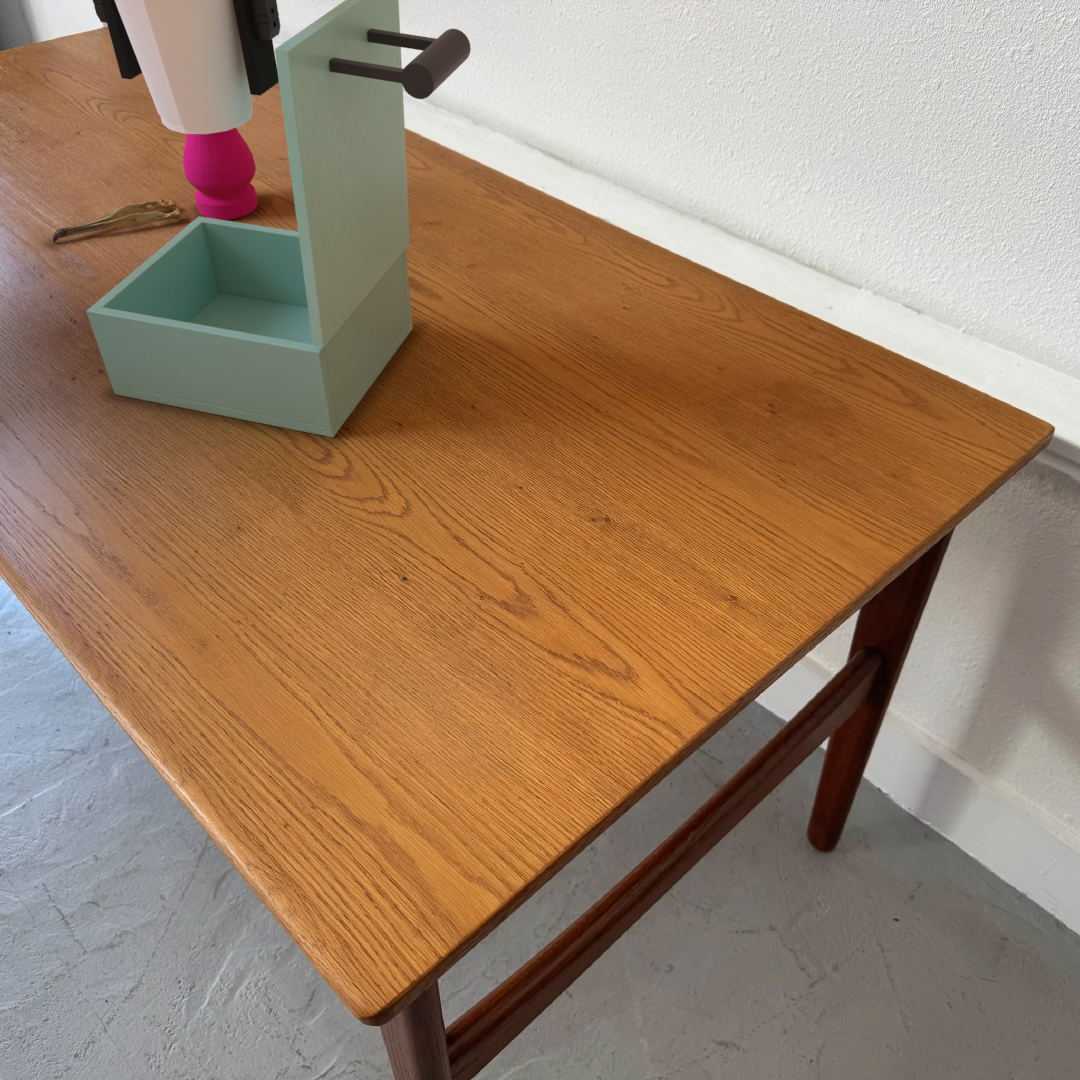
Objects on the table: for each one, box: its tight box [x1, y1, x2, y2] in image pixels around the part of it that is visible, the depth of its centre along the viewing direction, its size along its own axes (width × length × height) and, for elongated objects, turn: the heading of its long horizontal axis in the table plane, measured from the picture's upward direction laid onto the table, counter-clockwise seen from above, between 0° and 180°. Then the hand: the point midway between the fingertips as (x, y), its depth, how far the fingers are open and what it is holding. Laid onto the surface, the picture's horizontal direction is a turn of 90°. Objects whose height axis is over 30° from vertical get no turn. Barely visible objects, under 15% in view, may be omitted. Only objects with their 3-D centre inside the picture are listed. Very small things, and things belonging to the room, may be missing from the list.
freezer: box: [86, 216, 414, 438], centre depth 86 cm, size 20×17×8 cm
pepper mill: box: [182, 127, 259, 221], centre depth 103 cm, size 7×7×20 cm
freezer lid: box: [274, 0, 471, 348], centre depth 73 cm, size 21×17×8 cm
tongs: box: [51, 198, 183, 244], centre depth 106 cm, size 4×13×2 cm, turn 125°
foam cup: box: [115, 0, 254, 135], centre depth 69 cm, size 10×9×13 cm
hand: (200, 79), depth 71 cm, fingers closed on foam cup, 9 cm apart
